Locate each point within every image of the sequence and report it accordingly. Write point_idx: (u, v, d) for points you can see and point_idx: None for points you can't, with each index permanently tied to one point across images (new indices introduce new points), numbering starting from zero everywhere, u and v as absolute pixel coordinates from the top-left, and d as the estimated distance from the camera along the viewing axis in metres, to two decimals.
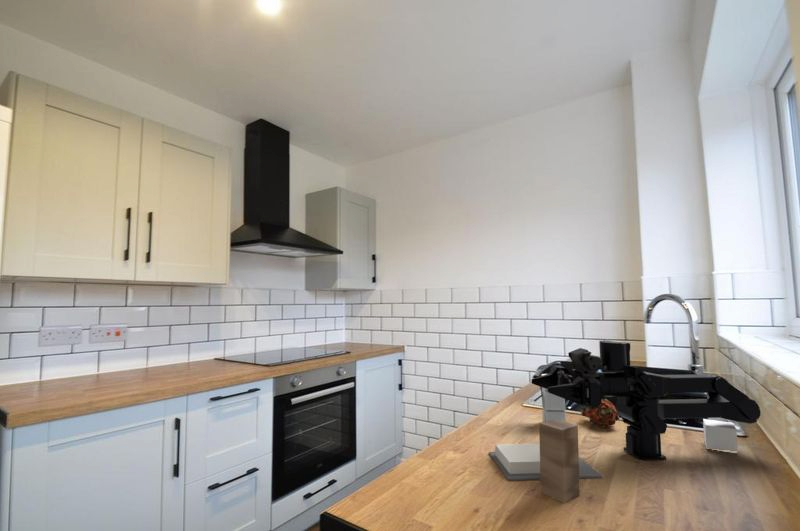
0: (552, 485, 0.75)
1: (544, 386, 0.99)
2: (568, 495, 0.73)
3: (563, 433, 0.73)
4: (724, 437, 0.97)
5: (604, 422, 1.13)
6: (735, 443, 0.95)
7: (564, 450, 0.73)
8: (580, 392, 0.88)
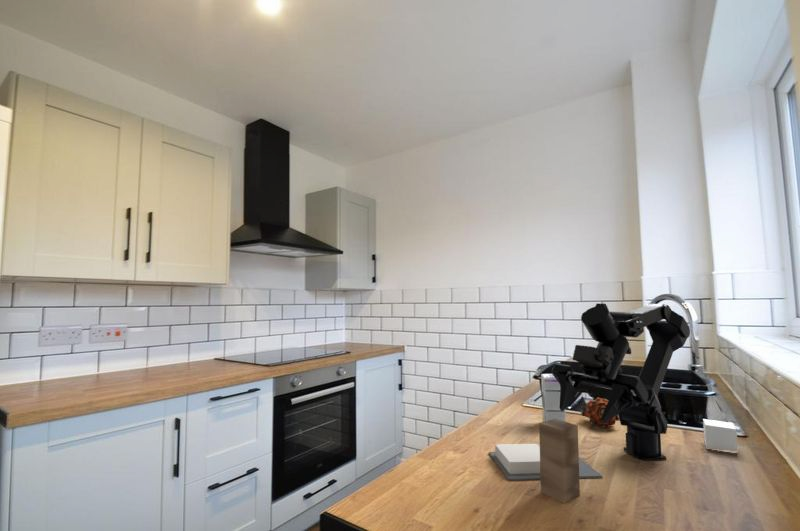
0: (552, 485, 0.75)
1: (569, 401, 0.87)
2: (568, 495, 0.73)
3: (563, 433, 0.73)
4: (724, 437, 0.97)
5: (604, 422, 1.13)
6: (735, 443, 0.95)
7: (564, 450, 0.73)
8: (626, 396, 0.78)
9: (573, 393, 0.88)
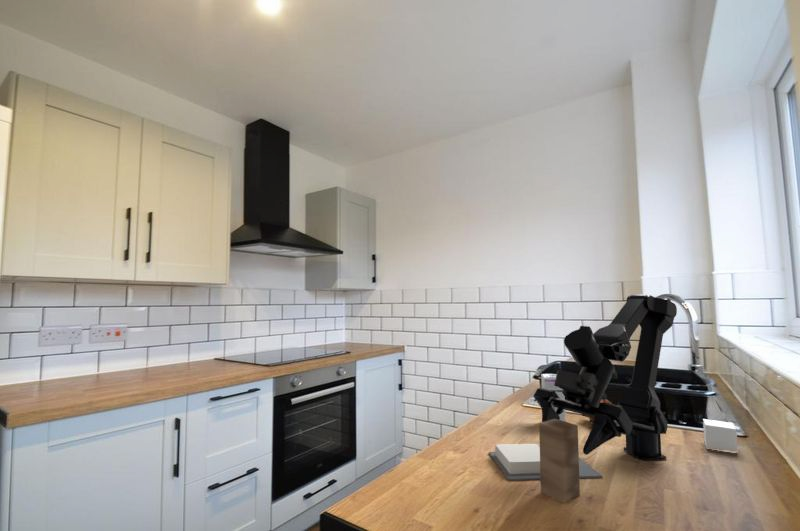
0: (552, 485, 0.75)
1: None
2: (568, 495, 0.73)
3: (562, 433, 0.73)
4: (724, 437, 0.97)
5: None
6: (735, 443, 0.95)
7: (564, 450, 0.73)
8: (609, 427, 0.74)
9: None
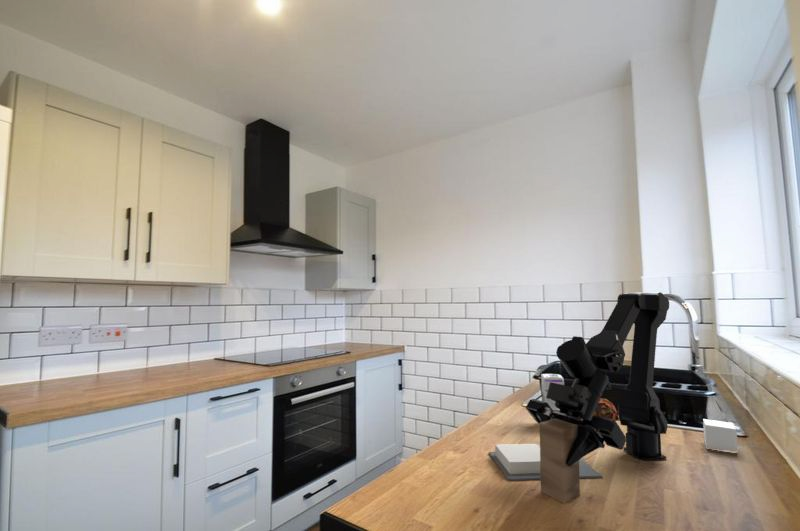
0: (552, 485, 0.74)
1: None
2: (569, 495, 0.73)
3: (563, 433, 0.73)
4: (724, 437, 0.97)
5: None
6: (735, 443, 0.95)
7: (565, 450, 0.73)
8: (592, 438, 0.74)
9: None
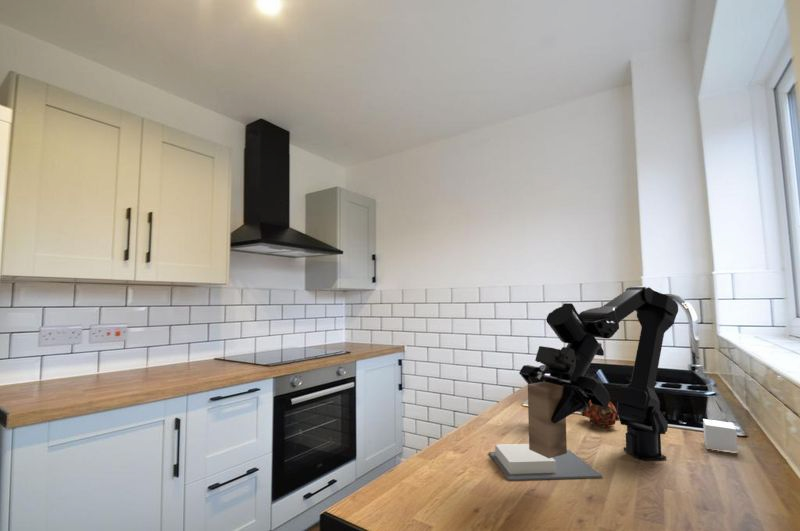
0: (538, 442, 0.78)
1: None
2: (554, 451, 0.77)
3: (548, 392, 0.77)
4: (724, 437, 0.97)
5: (604, 422, 1.13)
6: (735, 443, 0.95)
7: (549, 408, 0.77)
8: (577, 397, 0.77)
9: None
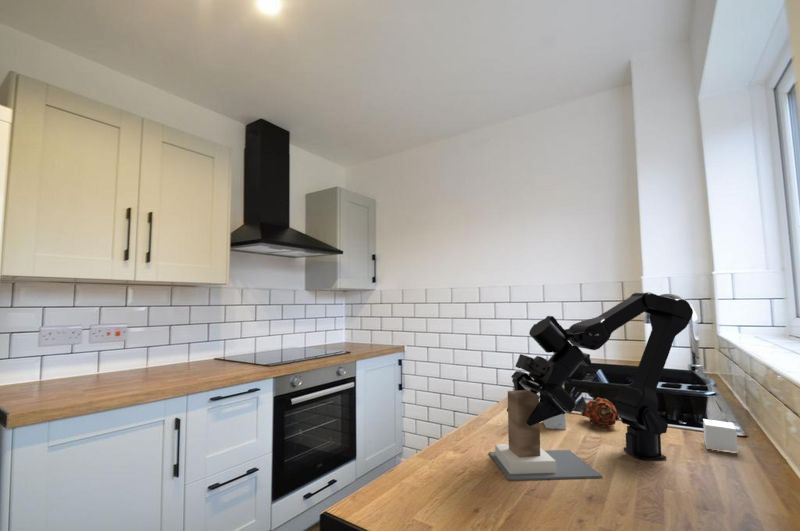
0: (513, 442, 0.88)
1: None
2: (525, 452, 0.86)
3: (519, 399, 0.87)
4: (724, 437, 0.97)
5: (604, 422, 1.13)
6: (735, 443, 0.95)
7: (520, 413, 0.87)
8: (552, 404, 0.84)
9: None
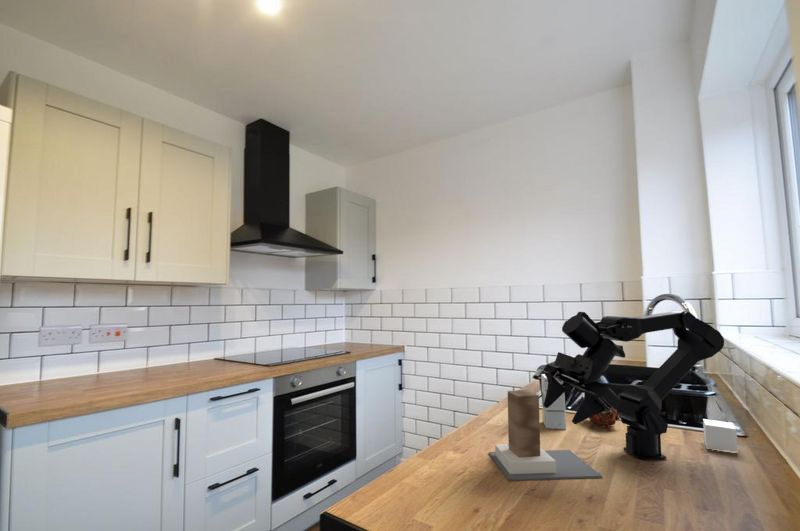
0: (513, 442, 0.88)
1: (555, 398, 0.96)
2: (525, 452, 0.86)
3: (519, 399, 0.87)
4: (724, 437, 0.97)
5: (604, 422, 1.13)
6: (735, 443, 0.95)
7: (520, 413, 0.87)
8: (597, 403, 0.86)
9: (561, 391, 0.97)
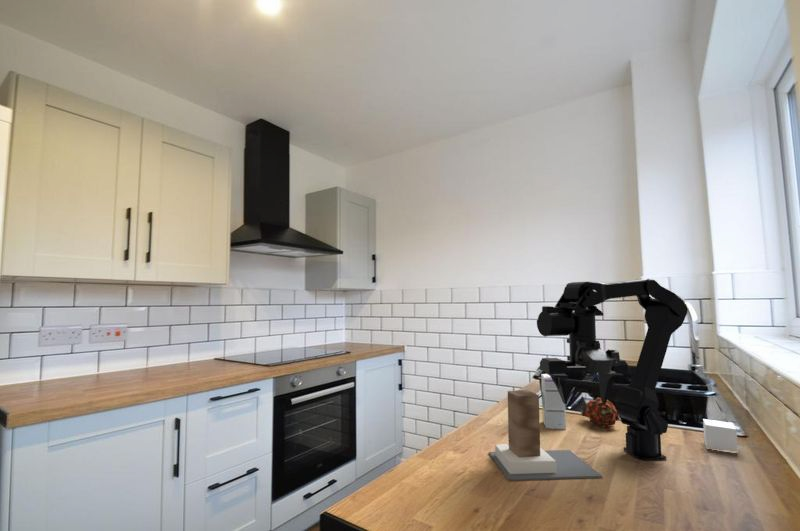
0: (513, 442, 0.88)
1: None
2: (525, 452, 0.86)
3: (519, 399, 0.87)
4: (724, 437, 0.97)
5: (604, 422, 1.13)
6: (735, 443, 0.95)
7: (520, 413, 0.87)
8: None
9: None
